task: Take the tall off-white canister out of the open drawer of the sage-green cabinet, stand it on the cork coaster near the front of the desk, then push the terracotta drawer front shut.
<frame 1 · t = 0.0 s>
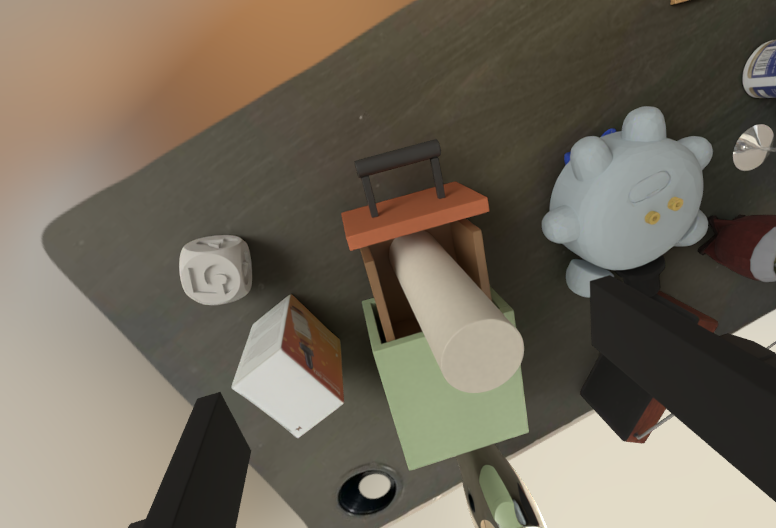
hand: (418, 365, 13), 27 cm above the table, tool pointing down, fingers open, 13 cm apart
pill bottle: (761, 69, 40), on the table
metal tumbler: (467, 432, 52), on the table
figurine: (602, 207, 43), on the table
drawer: (417, 250, 36), point 5 cm above the table, slide at 9.0 cm, touching canister
die: (224, 258, 38), on the table
mate gourd: (718, 237, 47), on the table
wineglass: (751, 147, 43), on the table
small box: (297, 330, 42), on the table
cabinet: (430, 339, 45), on the table
radio: (618, 335, 50), on the table
canister: (413, 252, 39), point 2 cm above the table, touching drawer
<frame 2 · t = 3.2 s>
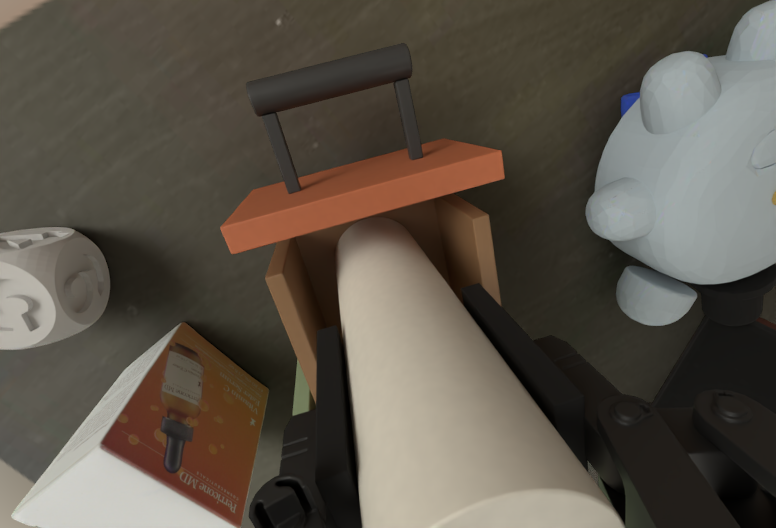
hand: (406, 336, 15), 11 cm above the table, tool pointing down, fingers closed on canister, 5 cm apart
figurine: (672, 186, 28), on the table
drawer: (377, 253, 21), point 5 cm above the table, slide at 9.0 cm, touching canister
die: (64, 266, 23), on the table
small box: (200, 376, 27), on the table
cabinet: (409, 385, 30), on the table
radio: (681, 373, 35), on the table
canister: (375, 256, 24), point 2 cm above the table, touching drawer, gripper
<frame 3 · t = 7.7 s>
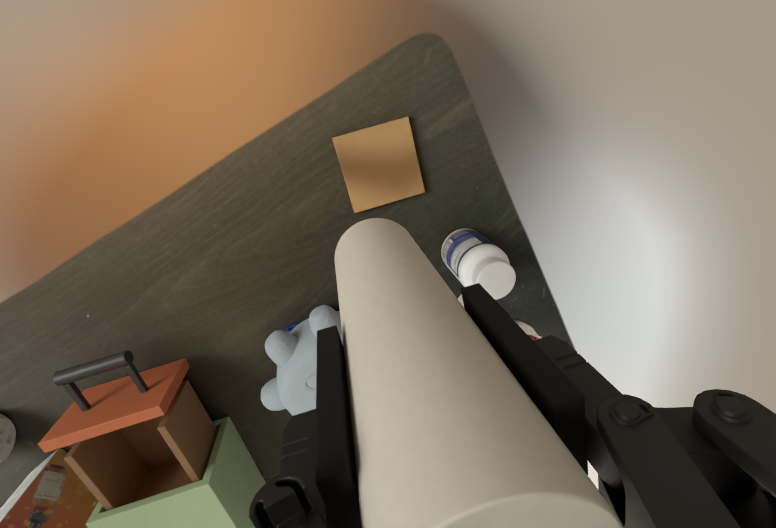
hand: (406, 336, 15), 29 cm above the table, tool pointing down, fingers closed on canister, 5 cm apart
pill bottle: (461, 248, 46), on the table
coaster: (379, 165, 41), on the table
figurine: (341, 361, 49), on the table
drawer: (139, 427, 42), point 5 cm above the table, slide at 9.0 cm
small box: (75, 473, 49), on the table
cabinet: (204, 471, 52), on the table
canister: (375, 257, 24), point 19 cm above the table, touching gripper
when the fingers open (10 cm above the table, at t = 12.5 s): canister stays where it is, resting on coaster.
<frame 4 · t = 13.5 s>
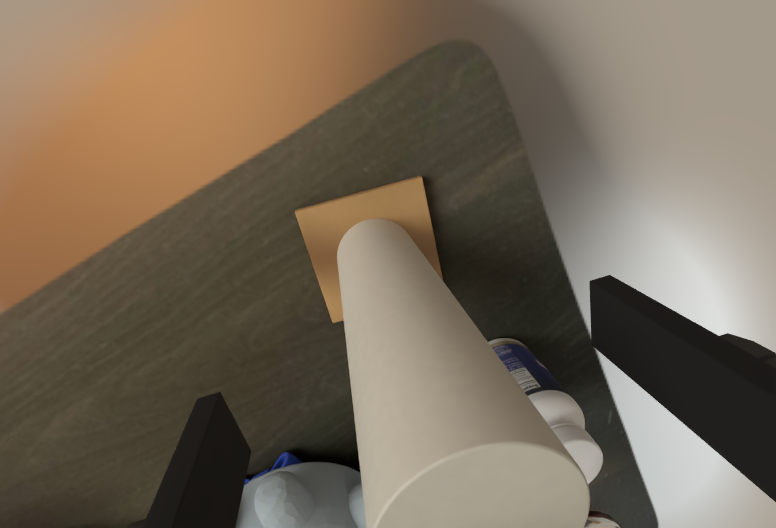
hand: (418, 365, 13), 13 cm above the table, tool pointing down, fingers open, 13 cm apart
pill bottle: (496, 363, 31), on the table
coaster: (374, 251, 25), on the table
figurine: (313, 517, 33), on the table
wineglass: (508, 437, 34), on the table
canister: (376, 256, 25), point 1 cm above the table, touching coaster
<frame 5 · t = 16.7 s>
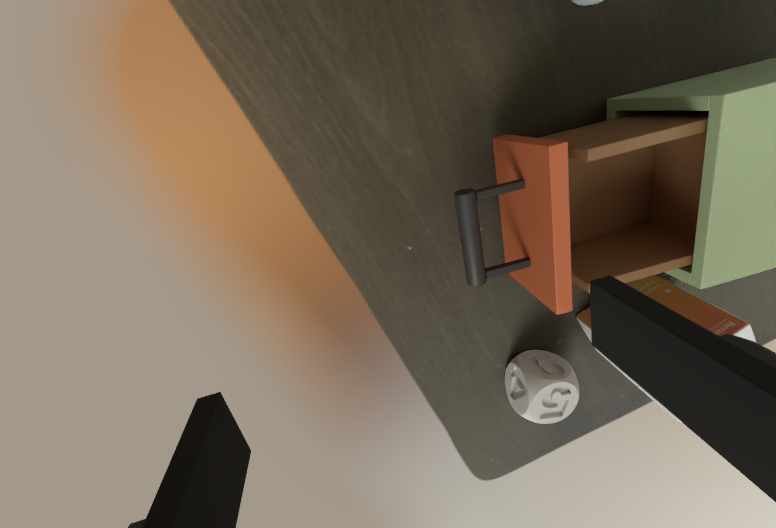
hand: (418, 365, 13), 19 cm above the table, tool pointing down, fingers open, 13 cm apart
drawer: (578, 207, 29), point 5 cm above the table, slide at 9.0 cm
die: (526, 368, 40), on the table
small box: (615, 309, 39), on the table
cabinet: (683, 157, 34), on the table
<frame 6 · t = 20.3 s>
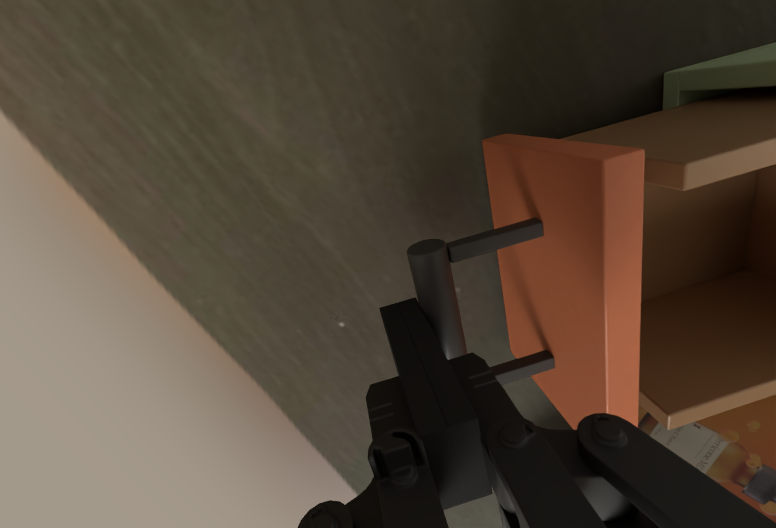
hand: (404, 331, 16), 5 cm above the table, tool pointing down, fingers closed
drawer: (638, 262, 16), point 5 cm above the table, slide at 8.3 cm, touching gripper
small box: (666, 391, 26), on the table
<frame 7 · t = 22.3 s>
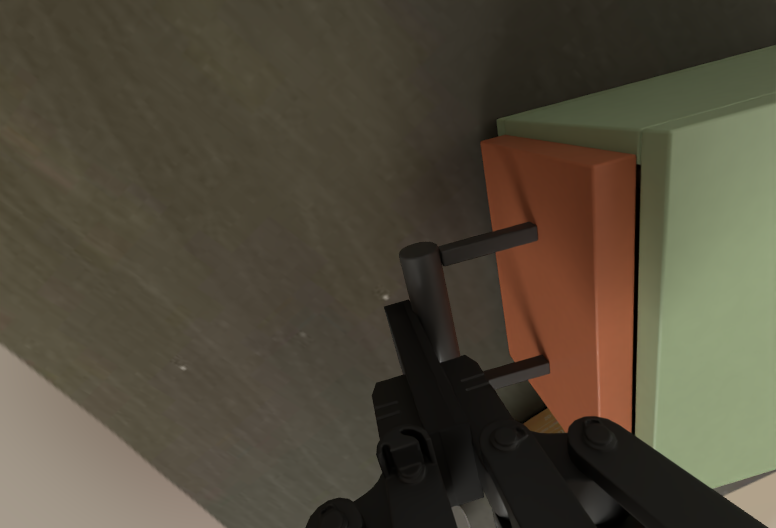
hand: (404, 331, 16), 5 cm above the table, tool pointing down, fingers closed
drawer: (637, 267, 16), point 5 cm above the table, slide at 0.0 cm, touching cabinet, gripper
die: (420, 515, 27), on the table
small box: (553, 433, 26), on the table
cabinet: (646, 210, 20), on the table
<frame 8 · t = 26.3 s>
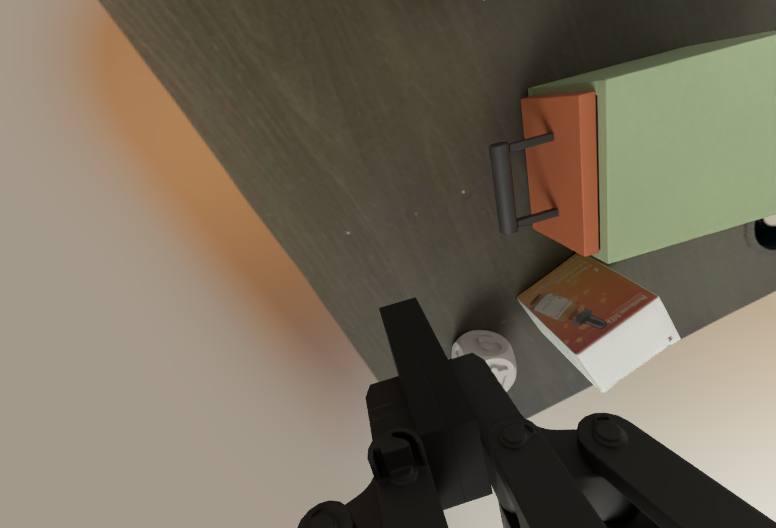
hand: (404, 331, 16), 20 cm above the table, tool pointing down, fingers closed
drawer: (601, 160, 31), point 5 cm above the table, slide at 0.0 cm, touching cabinet
die: (472, 348, 42), on the table
small box: (556, 290, 41), on the table
cabinet: (608, 142, 36), on the table
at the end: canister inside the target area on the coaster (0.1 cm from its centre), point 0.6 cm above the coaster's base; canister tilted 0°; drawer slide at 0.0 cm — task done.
